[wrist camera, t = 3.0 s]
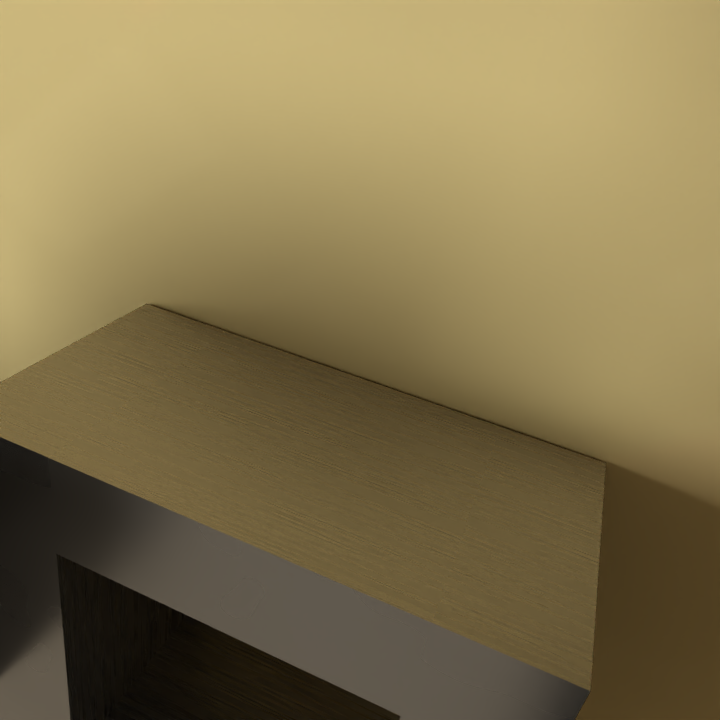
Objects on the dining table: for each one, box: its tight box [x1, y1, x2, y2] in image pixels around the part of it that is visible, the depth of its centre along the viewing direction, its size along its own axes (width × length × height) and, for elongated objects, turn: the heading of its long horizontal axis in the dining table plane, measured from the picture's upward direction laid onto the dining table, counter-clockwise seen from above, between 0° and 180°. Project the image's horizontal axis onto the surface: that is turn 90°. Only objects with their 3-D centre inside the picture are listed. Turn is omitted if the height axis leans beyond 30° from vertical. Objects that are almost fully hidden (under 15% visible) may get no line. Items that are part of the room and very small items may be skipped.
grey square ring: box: [0, 304, 606, 720], centre depth 8 cm, size 6×6×3 cm
